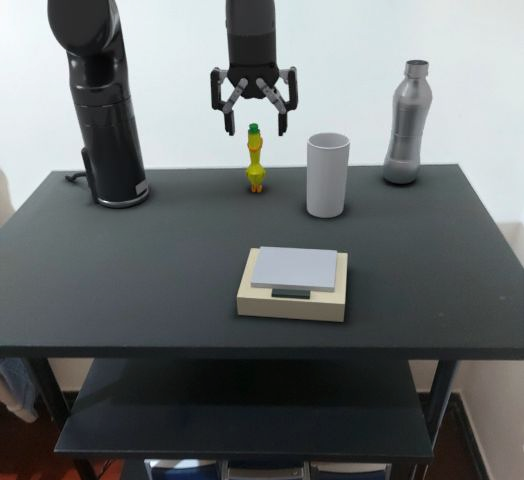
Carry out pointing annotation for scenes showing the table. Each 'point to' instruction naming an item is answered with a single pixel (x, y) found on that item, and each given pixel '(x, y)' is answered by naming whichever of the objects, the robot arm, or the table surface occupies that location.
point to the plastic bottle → (408, 123)
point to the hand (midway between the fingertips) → (256, 134)
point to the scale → (294, 284)
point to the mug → (327, 173)
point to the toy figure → (255, 158)
